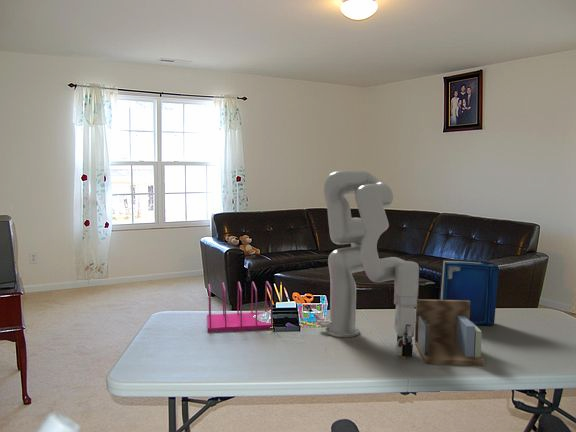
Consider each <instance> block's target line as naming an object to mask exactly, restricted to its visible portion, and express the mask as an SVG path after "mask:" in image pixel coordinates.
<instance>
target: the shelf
mask: <svg viewBox="0 0 576 432" xmlns="http://www.w3.org/2000/svg"><path fill="white" fill-rule="evenodd" d="M419 315H423V317H424V318H425V320H426V321H427V322H428V324H429V325H430V328H429V355H428V356H425V355H424V354H423V352H422V350H421V348H420V347H419V345H418V322H419ZM457 316H465V317H466V318H467V319H468V320H470V301H469V300H439V299H428V298H427V299H424V298H423V299H420V298H418V306H416V307H415V326H414V343H415V344H414V346H415V345H416V346H415V347H417V348H416V349H418V350H417V352H418V353H419V355H420V357H421V359H422V361H423V360H424V361H423V362H424V364H425V365H451V366H452V365H454V366H456V365H457V366H483V367H484V365H485V361H484V359H483V358H482V357H465V356H464V354H463V353H462V352H461V350H460V349H459V348H458V347H457V345H456V330H457Z"/></svg>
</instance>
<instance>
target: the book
mask: <svg viewBox="0 0 576 432" xmlns="http://www.w3.org/2000/svg"><path fill="white" fill-rule="evenodd" d="M440 270H441V271H440V280H439V281H440V285H439V297H438V300H469V301H470V320H469V321H472V322H473V323H474V324H475V325H476V326H477V327H478V326H483V325H485V326H493V325H495V321H496V308H497V293H498V286H499V285H498V282H499V281H498V280H499V271H500V266H499V265H498V264H496V263H493V262H484V261H481V260H479V261H478V260H471V259H470V260H469V259H441V268H440Z"/></svg>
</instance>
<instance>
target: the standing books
mask: <svg viewBox="0 0 576 432" xmlns="http://www.w3.org/2000/svg"><path fill="white" fill-rule="evenodd" d="M482 335H483V333H482V330H481V329H480V328H479V327H478V325H477V326H476V325H475V324H474V323H473V322H472V321H469V320H468V319H467V318H466V317H465V316H457V330H456V345H457V347H458V348H459V349H460V350H461V352H462V353H463V354H464V356H465V357H481V355H482V354H481V353H482ZM481 358H482V357H481Z"/></svg>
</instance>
